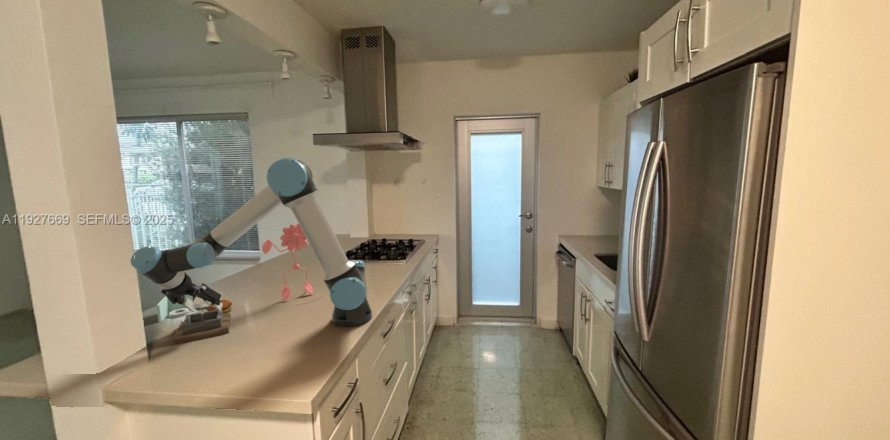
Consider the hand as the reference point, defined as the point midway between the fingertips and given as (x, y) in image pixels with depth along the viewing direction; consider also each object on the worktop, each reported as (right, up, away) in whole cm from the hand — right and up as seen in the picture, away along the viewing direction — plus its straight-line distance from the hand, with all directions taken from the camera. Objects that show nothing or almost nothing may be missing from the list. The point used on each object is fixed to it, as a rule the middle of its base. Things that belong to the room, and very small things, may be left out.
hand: (207, 307), depth 132 cm
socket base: (0, -8, -2) cm, 8 cm away
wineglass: (0, -6, -3) cm, 6 cm away
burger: (-5, -6, +15) cm, 17 cm away
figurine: (+24, -3, +28) cm, 37 cm away
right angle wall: (-21, -7, +14) cm, 26 cm away
